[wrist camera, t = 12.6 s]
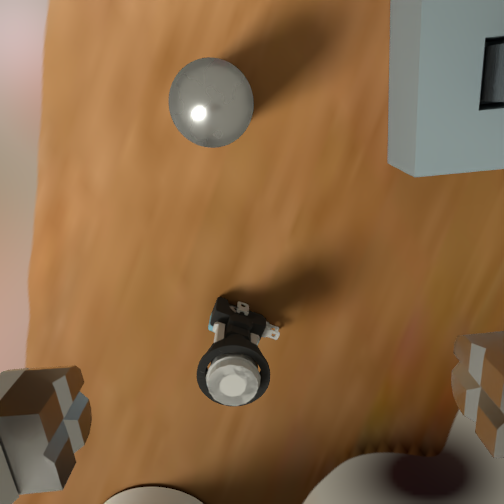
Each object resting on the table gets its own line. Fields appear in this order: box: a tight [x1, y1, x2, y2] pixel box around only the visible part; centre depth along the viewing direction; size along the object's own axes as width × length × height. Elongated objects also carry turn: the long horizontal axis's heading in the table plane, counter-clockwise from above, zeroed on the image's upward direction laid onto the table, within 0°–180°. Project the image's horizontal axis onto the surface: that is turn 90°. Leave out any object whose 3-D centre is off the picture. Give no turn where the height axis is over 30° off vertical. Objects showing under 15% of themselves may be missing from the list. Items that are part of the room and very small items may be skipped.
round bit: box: [169, 58, 254, 148], centre depth 28 cm, size 5×5×9 cm
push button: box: [197, 297, 280, 406], centre depth 34 cm, size 7×5×10 cm
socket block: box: [388, 0, 504, 177], centre depth 29 cm, size 12×12×6 cm
